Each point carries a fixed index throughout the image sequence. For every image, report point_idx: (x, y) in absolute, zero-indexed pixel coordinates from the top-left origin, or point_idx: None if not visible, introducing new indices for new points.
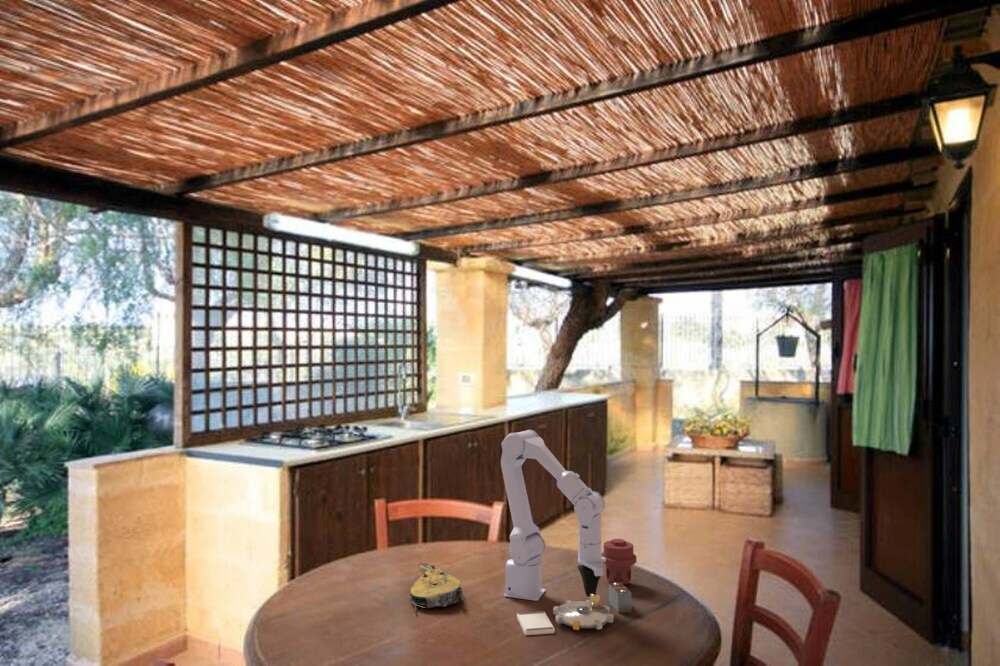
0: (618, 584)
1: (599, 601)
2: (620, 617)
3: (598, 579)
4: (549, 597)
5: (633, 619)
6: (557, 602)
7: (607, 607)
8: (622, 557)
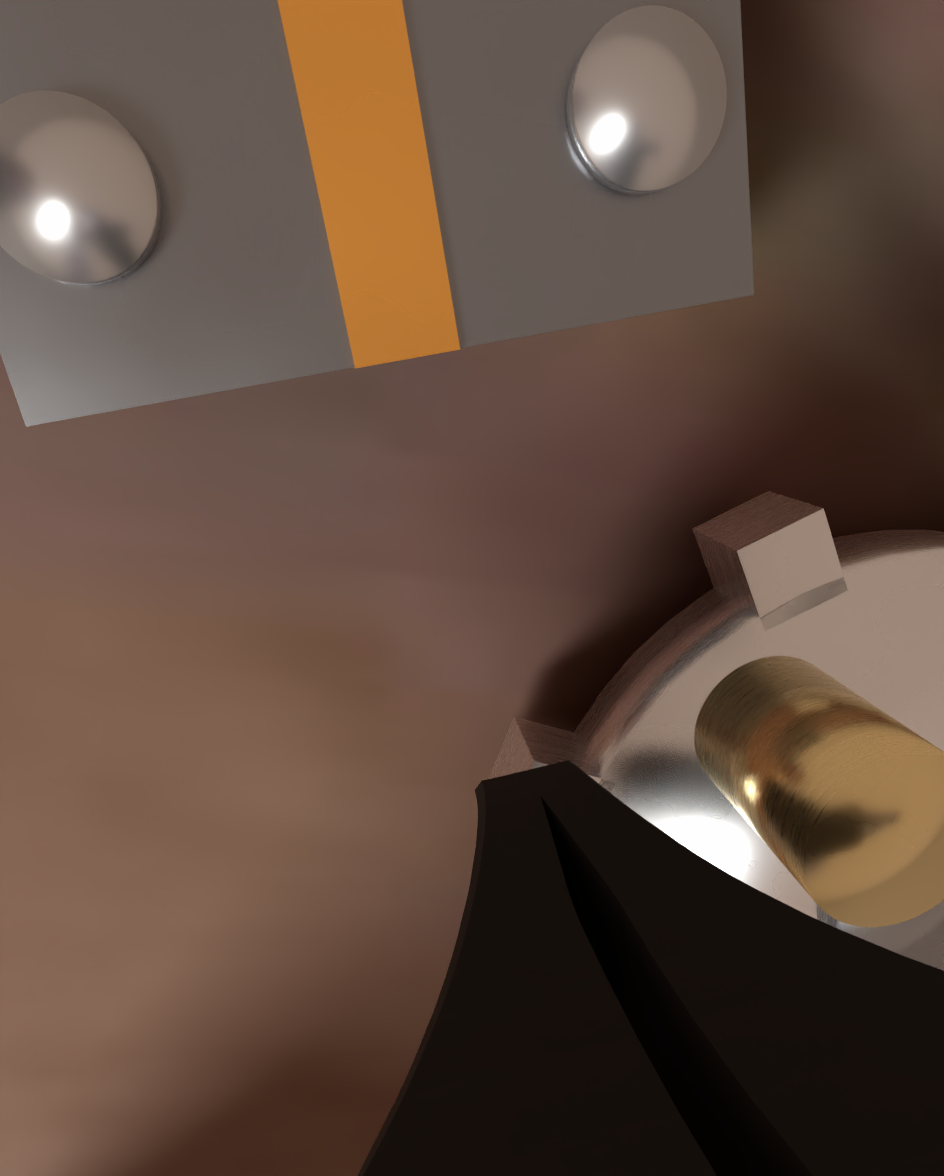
0: (131, 131)
1: (879, 710)
2: (753, 317)
3: (853, 953)
4: (75, 1170)
5: (845, 115)
6: (239, 1078)
7: (830, 543)
8: None
